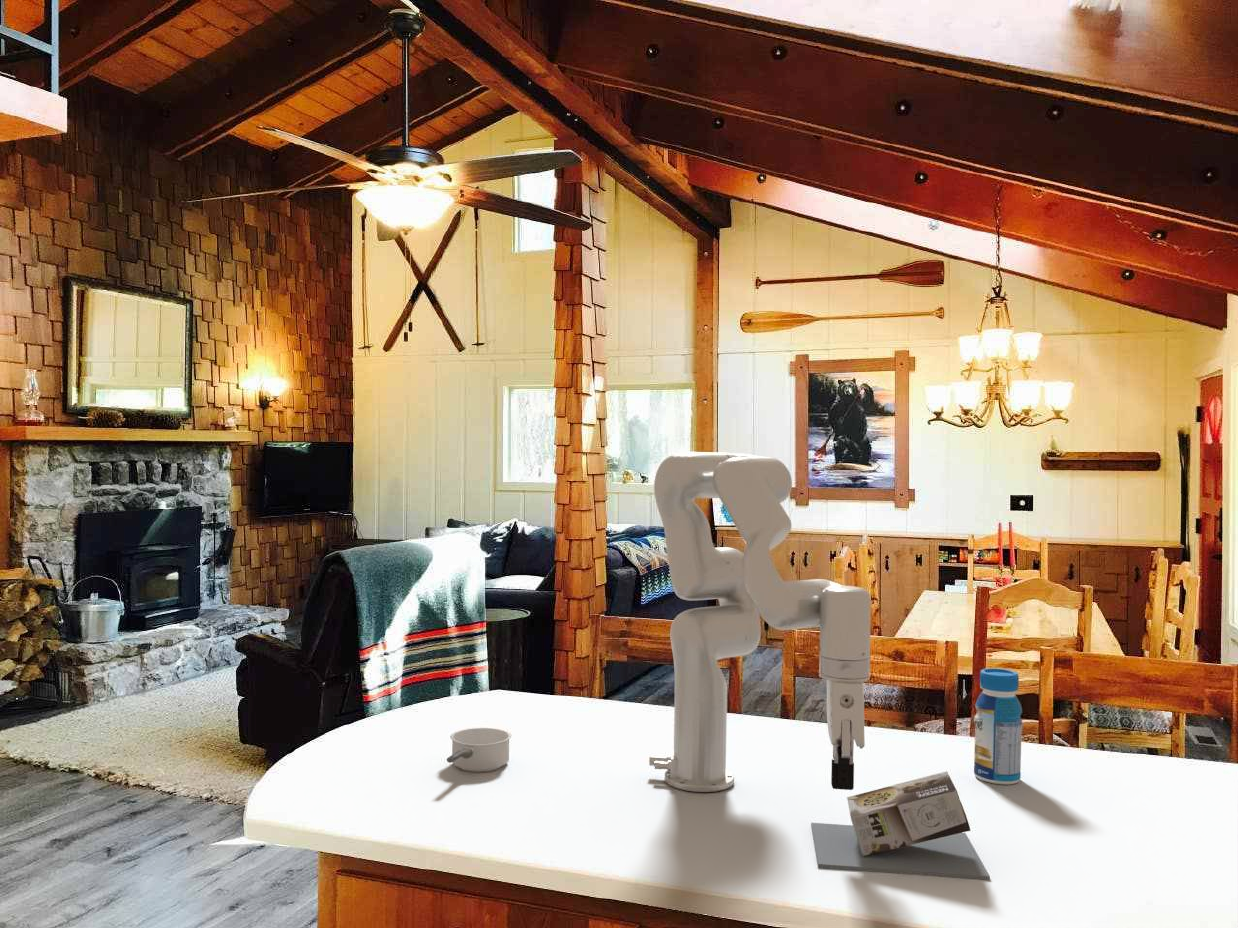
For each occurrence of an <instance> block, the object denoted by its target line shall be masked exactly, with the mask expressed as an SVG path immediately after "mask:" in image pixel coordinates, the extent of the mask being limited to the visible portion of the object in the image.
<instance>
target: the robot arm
mask: <svg viewBox="0 0 1238 928" xmlns="http://www.w3.org/2000/svg"><path fill="white" fill-rule="evenodd" d="M654 477H655V478H654V483H653V484H654V485H653V491H654V499H655V503H656V507H657V510H658V513H659V516H660V519H661V522H662V525H663V530H664V538H665V544H666V545H665V546H666V552H667V553H666V555H667V560H668V567H669V568H668V569H669V575H670V580H671V582H670V583H671V586H672V589H673V591H674V593H675V595H676V596H677V597H678V598H680V599H681V600H685V601H707V600H716V599H717V600H718V603H719V605H718V606H717V605H713V606H712V605H711V606H704V607H694V608H690V609H687V610H683V611H682V612H680V613H679V614H677V615H676V617H674V619H673V620H672V623H671V625H670V630H669V639H670V640H669V641H670V645H671V651H672V657H673V666H674V667H673V668H674V708H673V709H674V712H673V713H674V717H673V721H674V723H673V750H672V753H671V754H668V753H667V754H666V756H664V755H663V756H662V755H659V754H658V755H657V754H650V755H649V764H648V765H649V766H650V767H654V770H665V772H664V781H665V782H666V784H668V785H669V786H671V787H673V788H675V789H679V790H681V791H687V792H693V793H694V792H695V793H696V792H697V793H712V792H713V793H714V792H720V791H725V790H726V789H729V788H731V787H732V786H733V785H734V783H735V782H734V781H735V775H734V774H733V773H732V772H731V771H730V770H728V769H727V768H726V767H727V765H726V762H727V724H728V723H727V718H728V717H727V713H728V712H727V711H728V709H727V708H728V686H727V685H728V684H727V681H726V677H725V675H724V673H723V671H722V669H721V668H720V666H719V663H718V660H722V659H728V658H736V657H737V658H738V657H742V656H747V655H749V654H751V653H753V652H754V651H755V650H756V649H757V648H758V646H759V643H760V641H761V633H762V629H761V628H762V626H761V620H760V619H761V618H762V619H763V621H764V622H766V623H767V624H768V625H769V626H770V627H772V628H774V629H776V630H780V631H790V630H791V631H792V630H799V629H808V628H819V660H818V661H819V663H818V664H819V671H818V676H819V677H820V678H821V679H823V680H826V720H827V722H826V723H827V731H828V736H829V737H828V738H829V741H830V744H831V746H832V759H831V776H830V777H831V779H830V780H831V787H832V789H834V790H845V791H848V790H849V791H852V790H854V787H855V786H854V784H855V779H854V778H855V763H854V750H855V749H854V743H855V745H856V747H859V749H861V750H862V749H863V748H865V743H866V742H865V694H864V693H865V692H864V690H865V689H864V682H868V681H869V680H870V678H871V677H870V674H871V673H870V672H871V671H870V670H871V668H870V667H871V623H872V622H871V618H872V616H871V615H872V614H871V613H872V612H871V611H872V602H871V601H872V598H871V595H870V592H869V591H868V590H867V589H865V588H863V587H861V586H860V587H859V586H853V585H842V584H840V583H838V582H834V581H833V580H829V579H824V578H823V579H822V578H814V579H799V580H795V579H794V580H787V581H786V580H783V579H782V577H781V575H780V574H779V573H778V570H777V568H776V567H775V565H774V563H773V560H772V558H771V554H770V551H772V550H773V549H775V548H776V547H778V546H779V545H780V544H781V543H783V541H784V540H786V538H787V537H788V536H789V535H790V532H791V530H792V519H790V517H789V515H788V514H787V512H786V511H785V509H784V507H783V506H782V504H781V503H784V501H786V500H787V498H788V497H790V495H791V493H792V488H793V481H792V476H791V473H790V471H789V468H788V467H787V466H786V465H785V463H783V462H782V461H780V460H779V458H775V457H770V456H769V457H766V456H759V455H758V456H757V455H752V454H745V453H736V452H733V453H732V452H705V451H700V452H699V451H687V452H679V453H675V454H672V455H669V456H668V457H666V458H664V459H663V460H662V462H661V463H660V465H659V466H658V467H657V471H656V472H655V476H654ZM696 499H719V500H720V501H721V503H722V505H723V507H724V508H725V510H726V511H727V513H728V515H729V518H730V519H731V520H732V522H733V524H734V526H735V528H736V530H737V531H738V533H739V535H740V536H741V538H742V540H743V542H744V545H745V548H744V551H743V552H742V551H740V550H739V549H737V548H734V547H727V546H725V547H721V546H720V547H715V546H714V543H713V539H712V533H711V531H712V530H711V526H710V523H709V520H708V518H707V516H706V515H705V512H703V510H702V508H701V507H700V506H699V505H698V504H697V503H696V502H695V500H696ZM760 617H761V618H760Z"/></svg>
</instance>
